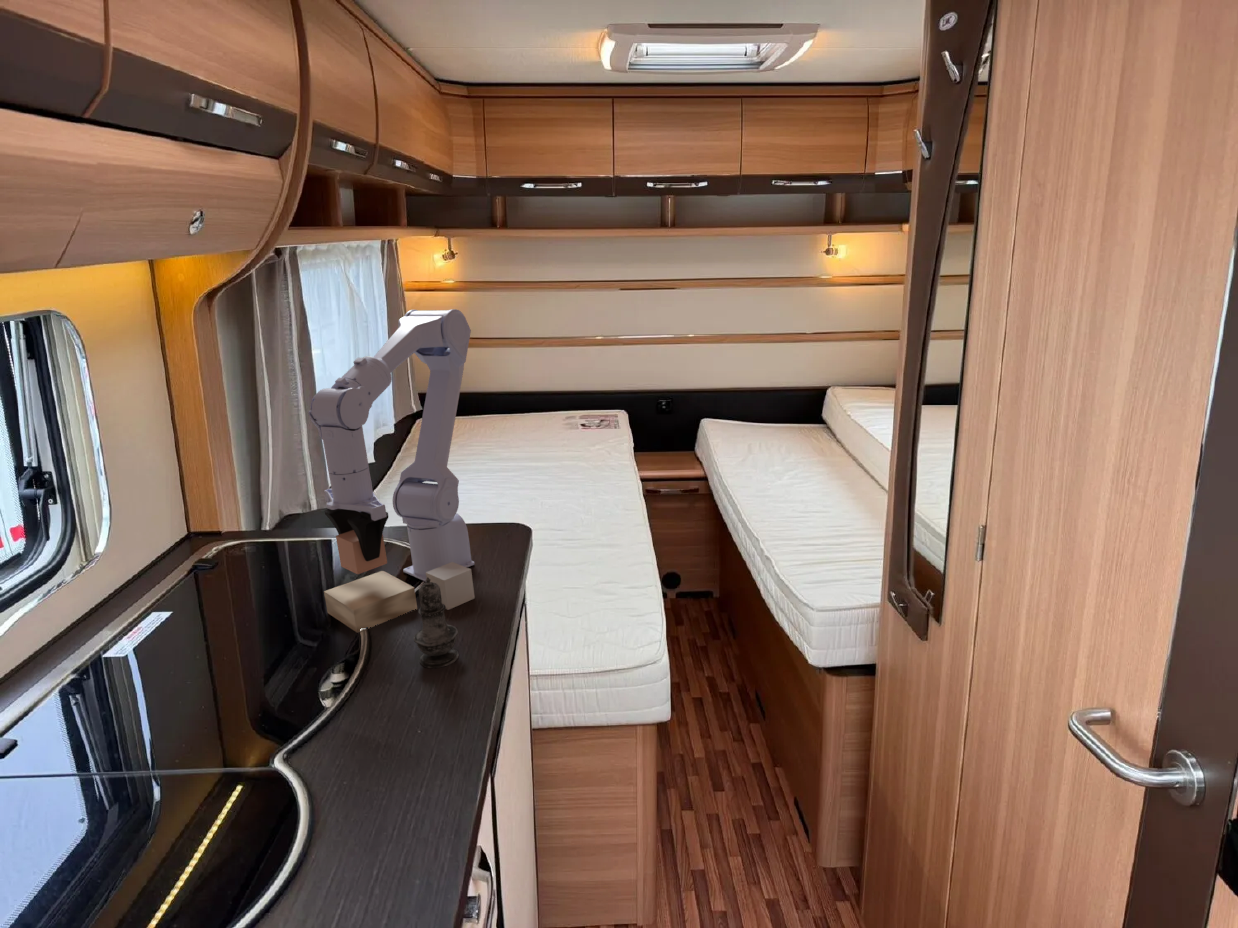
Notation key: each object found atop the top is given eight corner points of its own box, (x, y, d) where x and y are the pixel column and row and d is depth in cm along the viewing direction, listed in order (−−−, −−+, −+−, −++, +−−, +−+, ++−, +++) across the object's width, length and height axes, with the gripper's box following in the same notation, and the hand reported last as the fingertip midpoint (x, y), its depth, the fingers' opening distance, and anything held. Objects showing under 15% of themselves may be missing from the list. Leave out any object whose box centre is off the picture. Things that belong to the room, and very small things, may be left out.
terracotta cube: (370, 555, 134) (365, 525, 133) (387, 563, 131) (382, 532, 130) (341, 566, 131) (335, 535, 130) (357, 574, 128) (352, 543, 126)
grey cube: (456, 590, 139) (452, 561, 137) (474, 598, 135) (471, 569, 134) (429, 601, 135) (425, 572, 134) (448, 610, 132) (444, 580, 131)
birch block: (386, 593, 140) (382, 570, 139) (417, 611, 133) (414, 587, 132) (328, 614, 134) (323, 591, 133) (357, 634, 127) (353, 610, 126)
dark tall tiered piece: (408, 664, 117) (395, 583, 113) (436, 644, 122) (424, 565, 118) (442, 672, 114) (430, 589, 110) (469, 651, 119) (459, 571, 115)
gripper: (300, 468, 129) (315, 552, 133) (348, 484, 119) (363, 575, 123) (343, 456, 134) (356, 537, 138) (393, 471, 124) (406, 558, 128)
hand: (362, 554), depth 131 cm, fingers closed on terracotta cube, 5 cm apart
